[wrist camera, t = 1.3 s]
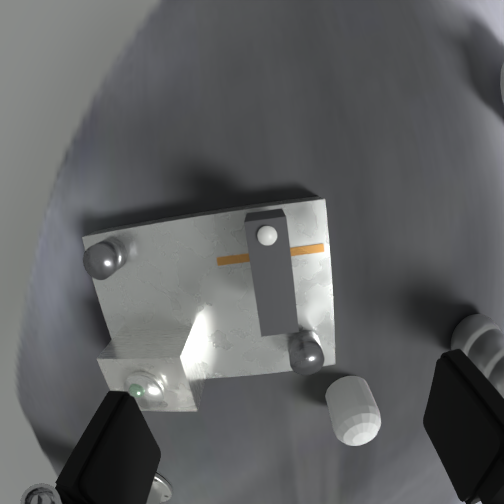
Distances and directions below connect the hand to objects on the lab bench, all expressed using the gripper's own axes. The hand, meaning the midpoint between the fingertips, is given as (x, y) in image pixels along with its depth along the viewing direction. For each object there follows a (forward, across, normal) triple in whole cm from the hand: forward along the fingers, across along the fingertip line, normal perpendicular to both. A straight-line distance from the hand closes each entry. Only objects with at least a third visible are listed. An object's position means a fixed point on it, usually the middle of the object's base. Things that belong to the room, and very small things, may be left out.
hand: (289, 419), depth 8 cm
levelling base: (+22, +6, +4) cm, 23 cm away
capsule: (+22, -7, +19) cm, 30 cm away
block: (+19, 0, 0) cm, 19 cm away
